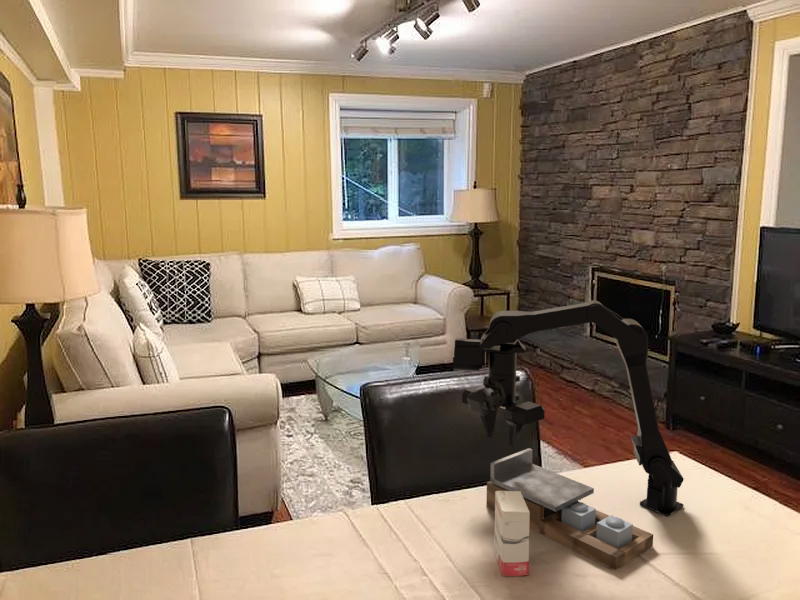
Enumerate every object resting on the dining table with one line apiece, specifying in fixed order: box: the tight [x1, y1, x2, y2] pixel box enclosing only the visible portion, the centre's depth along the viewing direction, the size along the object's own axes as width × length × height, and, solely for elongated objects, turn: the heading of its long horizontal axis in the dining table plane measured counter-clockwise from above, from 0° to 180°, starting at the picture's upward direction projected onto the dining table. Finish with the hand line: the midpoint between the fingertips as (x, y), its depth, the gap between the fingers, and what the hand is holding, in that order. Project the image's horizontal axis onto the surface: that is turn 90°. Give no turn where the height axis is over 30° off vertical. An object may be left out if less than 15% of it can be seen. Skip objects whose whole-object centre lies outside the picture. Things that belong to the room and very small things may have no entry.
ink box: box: [493, 491, 530, 577], centre depth 115 cm, size 9×5×12 cm, turn 1°
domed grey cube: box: [596, 515, 634, 549], centre depth 120 cm, size 4×4×6 cm
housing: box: [485, 480, 654, 571], centre depth 129 cm, size 12×31×5 cm, turn 39°
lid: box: [489, 447, 595, 513], centre depth 132 cm, size 12×17×4 cm
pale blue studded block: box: [561, 500, 597, 532], centre depth 126 cm, size 4×4×6 cm
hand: (500, 442), depth 140 cm, fingers open, 6 cm apart
